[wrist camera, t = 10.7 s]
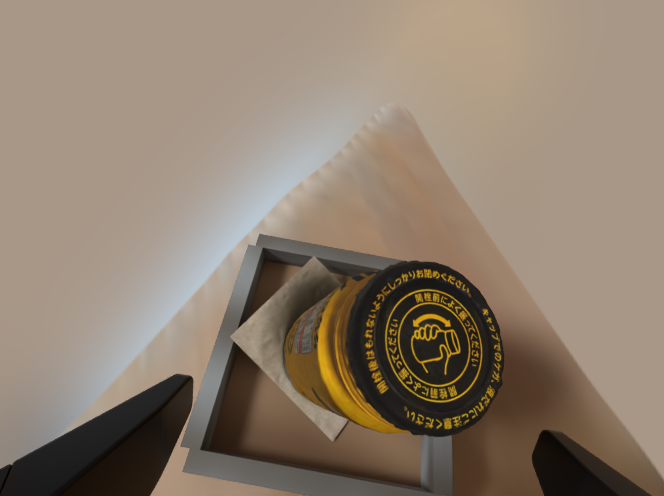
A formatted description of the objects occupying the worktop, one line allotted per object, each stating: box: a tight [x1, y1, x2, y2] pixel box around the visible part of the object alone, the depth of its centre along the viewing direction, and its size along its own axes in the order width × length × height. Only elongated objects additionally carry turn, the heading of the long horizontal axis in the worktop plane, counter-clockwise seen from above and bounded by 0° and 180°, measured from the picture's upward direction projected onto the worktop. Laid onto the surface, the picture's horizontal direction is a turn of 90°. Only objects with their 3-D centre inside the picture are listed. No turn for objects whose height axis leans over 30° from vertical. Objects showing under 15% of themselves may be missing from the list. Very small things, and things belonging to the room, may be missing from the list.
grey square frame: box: [181, 234, 453, 496], centre depth 21 cm, size 14×14×3 cm
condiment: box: [230, 256, 504, 442], centre depth 15 cm, size 7×8×12 cm
